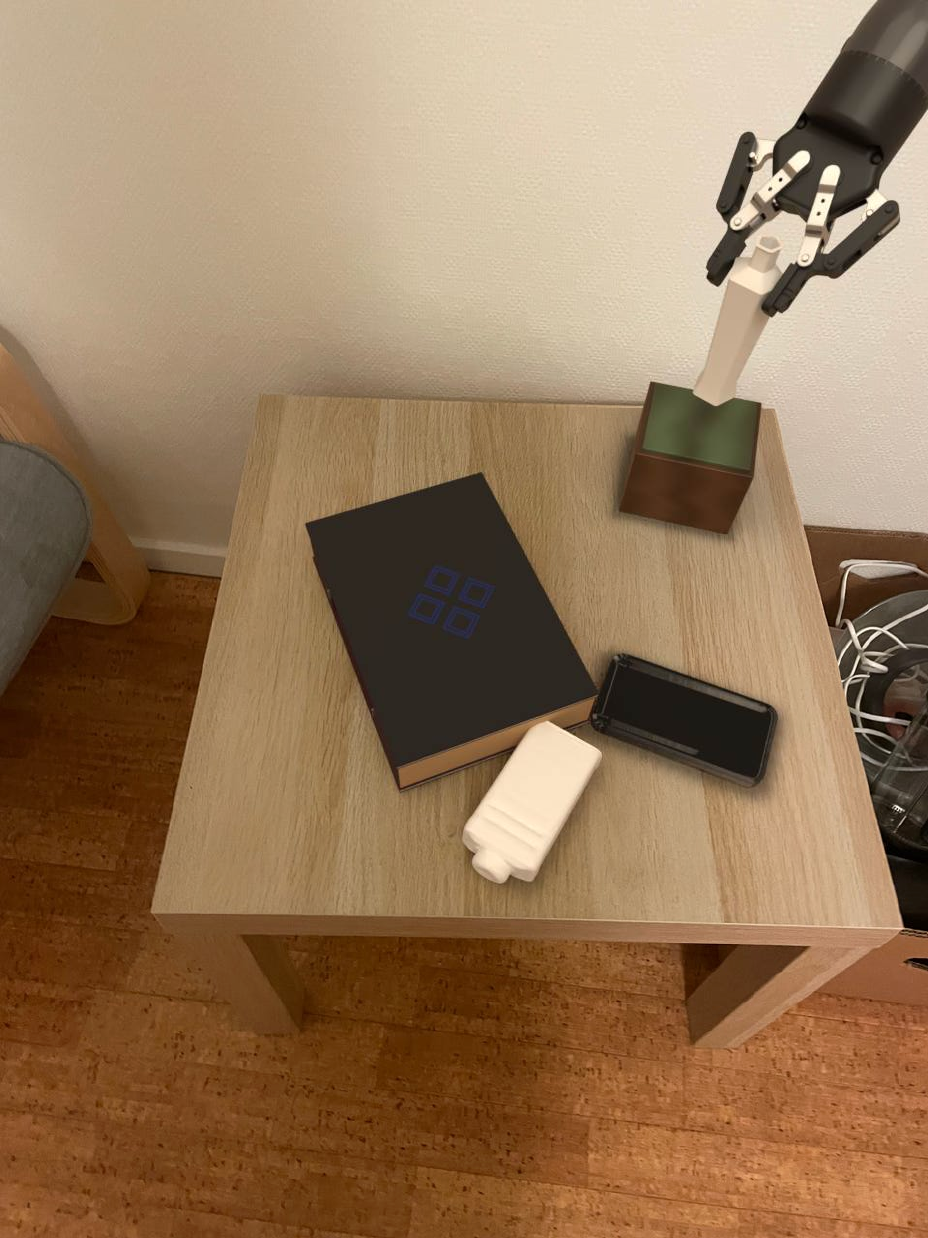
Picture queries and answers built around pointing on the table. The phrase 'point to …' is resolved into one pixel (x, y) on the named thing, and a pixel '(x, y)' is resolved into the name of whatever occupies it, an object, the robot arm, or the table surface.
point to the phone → (686, 719)
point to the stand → (691, 458)
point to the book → (447, 628)
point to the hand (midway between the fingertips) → (739, 296)
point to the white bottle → (529, 803)
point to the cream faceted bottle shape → (739, 320)
